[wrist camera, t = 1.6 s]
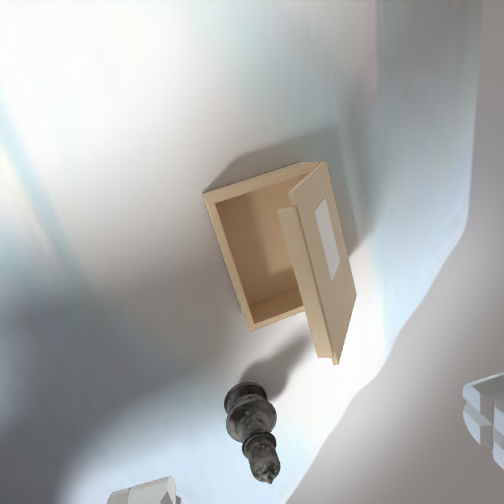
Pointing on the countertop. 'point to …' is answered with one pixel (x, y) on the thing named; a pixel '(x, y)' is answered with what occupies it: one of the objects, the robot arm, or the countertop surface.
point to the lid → (320, 260)
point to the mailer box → (258, 242)
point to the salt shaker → (253, 428)
